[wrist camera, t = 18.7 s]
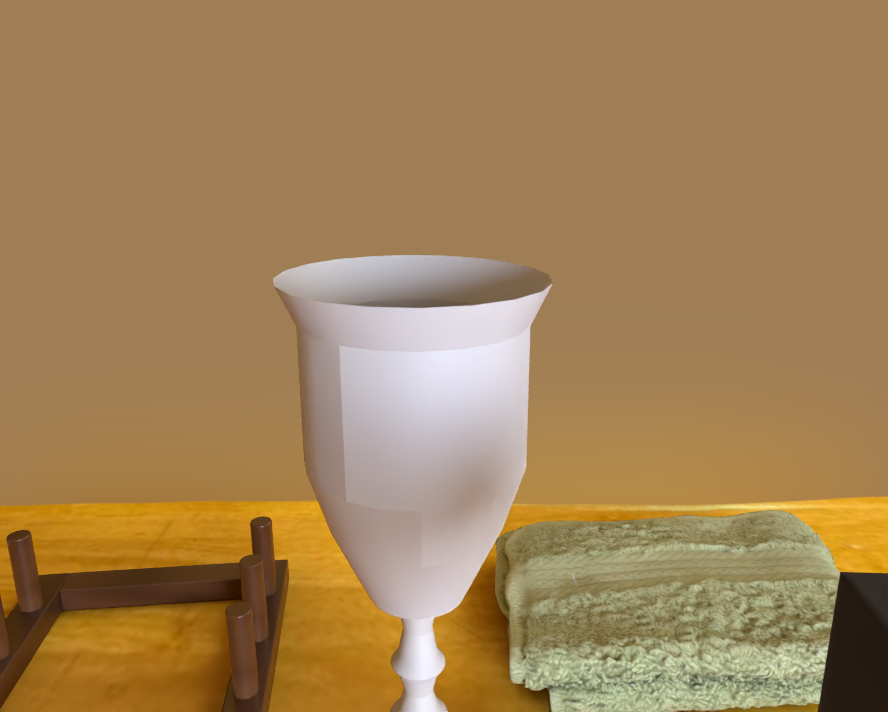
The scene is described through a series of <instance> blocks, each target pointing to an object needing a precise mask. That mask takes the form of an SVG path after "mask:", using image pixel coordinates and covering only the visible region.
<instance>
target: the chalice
mask: <svg viewBox="0 0 888 712" xmlns="http://www.w3.org/2000/svg"><path fill="white" fill-rule="evenodd" d="M273 282H274V287H275V289H276V291H277V292H278V294H279V296H280V298H281V300H282V301H283V303H284V305H285V307H286V309H287V310H288V312H289V314H290V316H291V318H292V319H293V321H294V323H295V325H296V330H297V348H298V364H299V380H300V397H301V413H302V431H303V447H304V461H305V467H306V472H307V476H308V478H309V481H310V483H311V485H312V488H313V490H314V493H315V495H316V498H317V500H318V502H319V505H320V507H321V510H322V512H323V514H324V517H325V519H326V522H327V524H328V526H329V529H330V531H331V534H332V535H333V537H334V539H335V540H336V542H337V544H338V545H339V547H340V549H341V550H342V552H343V554H344V555H345V557H346V559H347V560H348V562H349V564H350V565H351V567H352V569H353V570H354V572H355V574H356V575H357V577H358V579H359V580H360V582H361V584H362V585H363V587H364V589H365V590H366V592H367V594H368V595H369V597H370V599H371V600H372V601H373V602H374V604H375V605H376V606H377V607H378V608H379V609H381V610H383V611H384V612H386V613H388V614H390V615H393V616H397V617H400V618H401V620H402V624H403V630H402V635H401V640H400V645H399V647H398V648H397V650H396V651H395V652H394V654H393V655H392V658H391V664H392V668H393V669H394V670H395V672H396V673H397V674H398V675H399V676H400V677H401V680H402V683H403V686H404V690H403V693H402V696H401V698H400V699H398V700H397V701H396V702H395V703H394V704H393V706H392V708H391V710H390V712H448V710H447V708H446V706H445V704H444V703H443V702H442V701H441V700H440V699H438V698H437V697H436V696H435V693H434V690H433V687H434V684H435V680H436V677H437V676H438V674H439V673H440V672H441V671H442V670H443V668H444V666H445V657H444V654H443V653H442V652H441V651H440V650H439V649H438V647H437V645H436V640H435V636H434V632H433V628H432V625H433V621H434V618H435V617H438V616H441V615H443V614H446V613H449V612H451V611H452V610H453V609H454V608H456V607H457V606H458V605H460V603H461V601H462V600H463V598H464V596H465V595H466V593H467V591H468V589H469V587H470V586H471V584H472V582H473V580H474V579H475V577H476V575H477V573H478V571H479V570H480V568H481V566H482V564H483V563H484V561H485V559H486V557H487V555H488V554H489V552H490V550H491V548H492V547H493V545H494V543H495V541H496V539H497V538H498V536H499V534H500V532H501V531H502V529H503V526H504V524H505V521H506V519H507V516H508V514H509V511H510V508H511V506H512V503H513V501H514V498H515V495H516V493H517V490H518V488H519V485H520V483H521V480H522V477H523V475H524V472H525V470H526V453H527V417H528V384H529V351H530V325H531V323H532V321H533V319H534V317H535V316H536V314H537V312H538V310H539V308H540V306H541V304H542V302H543V300H544V299H545V297H546V295H547V293H548V291H549V289H550V287H551V285H552V284H553V282H552V280H551V278H550V277H549V275H548V274H546V273H543V272H541V271H539V270H537V269H534V268H531V267H527V266H523V265H519V264H514V263H510V262H503V261H496V260H488V259H480V258H469V257H454V256H426V255H425V256H424V255H421V256H420V255H399V256H373V257H372V256H370V257H359V258H348V259H337V260H330V261H324V262H319V263H312V264H306V265H303V266H299V267H296V268H293V269H289V270H286V271H284V272H282V273H281V274H279V275H278V276H276V277H275V278H273Z"/></svg>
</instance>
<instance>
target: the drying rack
mask: <svg viewBox="0 0 888 712" xmlns="http://www.w3.org/2000/svg"><path fill="white" fill-rule="evenodd" d="M250 527H251V538H252V550H253V555H248V556H245V557H243V558H242V559H241V560H240V562H239V563H225V564H209V565H193V566H176V567H160V568H144V569H128V570H112V571H96V572H80V573H71V574H70V573H64V574H48V575H38V570H37V564H36V559H35V553H34V547H33V542H32V536H31V532H30V531H28V530H20V531H16V532H13V533H11V534H9V535H8V536H7V544H8V550H9V555H10V561H11V566H12V571H13V577H14V582H15V587H16V593H17V598H18V603H17V605H16V606H15V607H14V609H13V610H12V611H11V613H10V614H9V616H8V617H7V618H6V620H5V617H4V612H3V607H2V601H1V596H0V708H1V707H2V705H3V704H4V702H5V700H6V699H7V697H8V696H9V694H10V692H11V691H12V689H13V688H14V686H15V684H16V683H17V681H18V680H19V678H20V676H21V675H22V673H23V672H24V670H25V669H26V667H27V665H28V664H29V662H30V661H31V659H32V657H33V656H34V654H35V653H36V651H37V649H38V648H39V646H40V645H41V643H42V642H43V640H44V638H45V637H46V635H47V634H48V632H49V630H50V629H51V627H52V626H53V624H54V622H55V621H56V619H57V618H58V616H59V614H60V613H61V611H62V610H64V611H66V610H80V609H95V608H110V607H125V606H140V605H155V604H170V603H185V602H200V601H214V600H229V599H242V600H243V602H236V603H233V604H231V605H230V606H228V607H227V609H226V623H227V633H228V643H229V653H230V663H231V675H230V679H229V683H228V687H227V692H226V696H225V700H224V704H223V709H222V712H268V711H269V705H270V698H271V692H272V685H273V679H274V672H275V666H276V660H277V653H278V647H279V640H280V634H281V627H282V621H283V615H284V608H285V602H286V595H287V589H288V583H289V569H288V560H275V558H274V545H273V532H272V520H271V519H270V518H269V517H257V518H255V519H253V520H252V521H251V523H250Z"/></svg>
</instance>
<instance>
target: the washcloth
mask: <svg viewBox="0 0 888 712" xmlns="http://www.w3.org/2000/svg"><path fill="white" fill-rule="evenodd" d="M496 551H497V561H496V568H495V569H496V573H495V578H496V579H495V595H496V597H497V602H498V604H499V607H500V610H501V611H502V613H503V614H504V615H505V616H506V618H507V633H508V640H509V661H508V662H509V676H510V677H509V679H510V681H511V682H512V683H515V684H525V687H526V688H529V689H531V690H534V691H535V690H542V689H543V688H547V692H548V703H549V712H675V711H681V710H682V711H690V710H695V711H705V710H709V711H715V710H724V709H726V708H735V707H738V708H743V710H745V709H746V708H750V707H751V706H753V707H755V708H760V707H761V706H773V707H777V706H779V705H785V704H791V705H793V704H795V705H798V706H801V705H805V706H806V704H808V703H813V704H819V701H820V695H821V689H822V683H823V676H824V670H825V664H826V658H827V652H828V645H829V639H830V633H831V627H832V621H833V614H834V608H835V602H836V596H837V590H838V583H839V577H840V572H839V571H838V570H837V569H836V567H835V563H834V560H833V556H832V555H831V554H830V550H829V548H828V547H826V546H825V545H824V543H823V542H822V540H821V539H820V537H819V535H818V534H817V533H814V532H813V530H812V528H811V527H810V526H808V525H806V524H805V523H804V522H803V521H801V520H800V519H799V518H797V517H796V516H794V515H793V514H791V513H788V512H785V511H781V510H768V511H757V512H750V513H743V514H739V515H734V516H726V517H703V516H695V515H683V516H675V517H669V518H663V517H662V518H651V519H640V520H627V521H547V522H538V523H534V524H531V525H527V526H525V527H520V528H518V529H516V530H515V531H510V532H507V533H505V534H503V535H502V536H501V537H499V538H497V539H496Z"/></svg>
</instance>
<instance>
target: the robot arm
mask: <svg viewBox="0 0 888 712" xmlns="http://www.w3.org/2000/svg"><path fill="white" fill-rule="evenodd" d="M818 712H888V573H853V572H840V577H839V583H838V590H837V596H836V602H835V608H834V614H833V621H832V627H831V633H830V639H829V645H828V652H827V658H826V664H825V670H824V676H823V683H822V689H821V695H820V701H819V707H818Z"/></svg>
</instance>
